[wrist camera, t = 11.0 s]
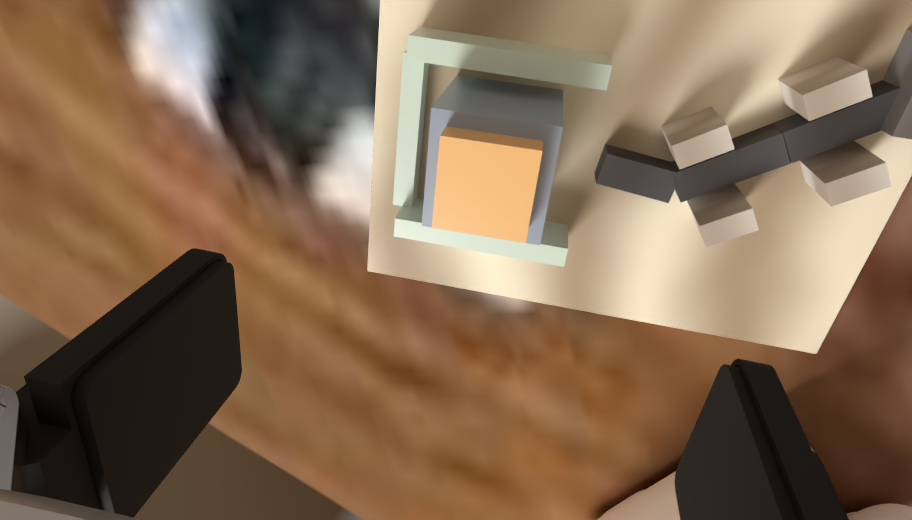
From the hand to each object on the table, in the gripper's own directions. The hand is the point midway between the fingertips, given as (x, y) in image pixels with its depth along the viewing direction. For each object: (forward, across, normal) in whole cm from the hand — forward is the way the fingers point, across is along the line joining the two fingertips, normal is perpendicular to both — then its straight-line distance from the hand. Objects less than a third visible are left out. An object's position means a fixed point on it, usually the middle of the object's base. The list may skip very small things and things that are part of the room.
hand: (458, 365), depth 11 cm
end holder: (+14, +1, 0) cm, 14 cm away
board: (+15, -4, 0) cm, 15 cm away
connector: (+14, +1, -1) cm, 14 cm away
